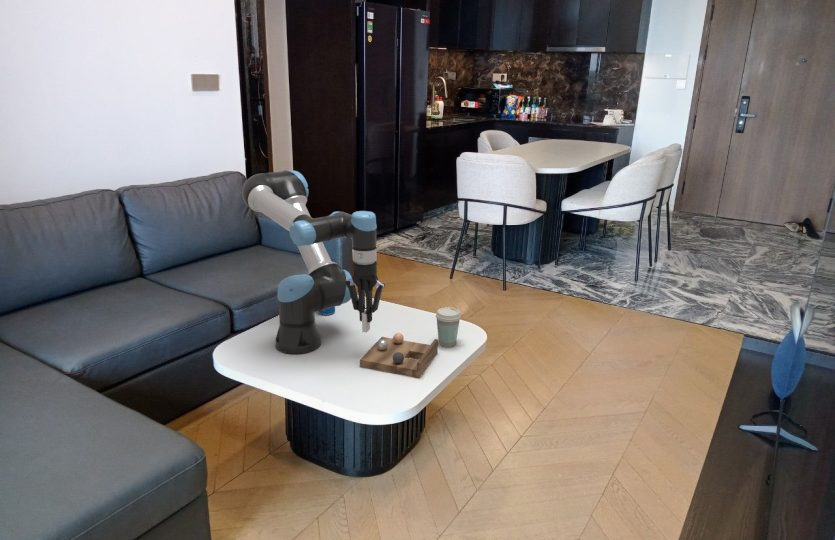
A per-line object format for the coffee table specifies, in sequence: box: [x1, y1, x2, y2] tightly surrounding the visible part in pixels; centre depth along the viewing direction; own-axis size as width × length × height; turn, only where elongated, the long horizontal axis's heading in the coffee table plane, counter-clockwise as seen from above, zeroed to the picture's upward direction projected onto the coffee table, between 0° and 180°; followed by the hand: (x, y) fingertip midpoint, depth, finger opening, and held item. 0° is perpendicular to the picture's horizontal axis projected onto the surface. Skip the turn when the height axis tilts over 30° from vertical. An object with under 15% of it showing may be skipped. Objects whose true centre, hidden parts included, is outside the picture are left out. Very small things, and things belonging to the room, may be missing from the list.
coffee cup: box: [435, 306, 462, 348], centre depth 199 cm, size 8×8×12 cm
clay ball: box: [392, 332, 405, 344], centre depth 194 cm, size 4×4×4 cm
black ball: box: [393, 352, 404, 363], centre depth 181 cm, size 4×4×4 cm
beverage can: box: [317, 306, 336, 316], centre depth 222 cm, size 6×6×12 cm
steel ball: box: [377, 339, 388, 350], centre depth 189 cm, size 4×4×4 cm
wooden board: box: [359, 336, 439, 379], centre depth 188 cm, size 20×18×5 cm
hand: (366, 330), depth 189 cm, fingers closed
